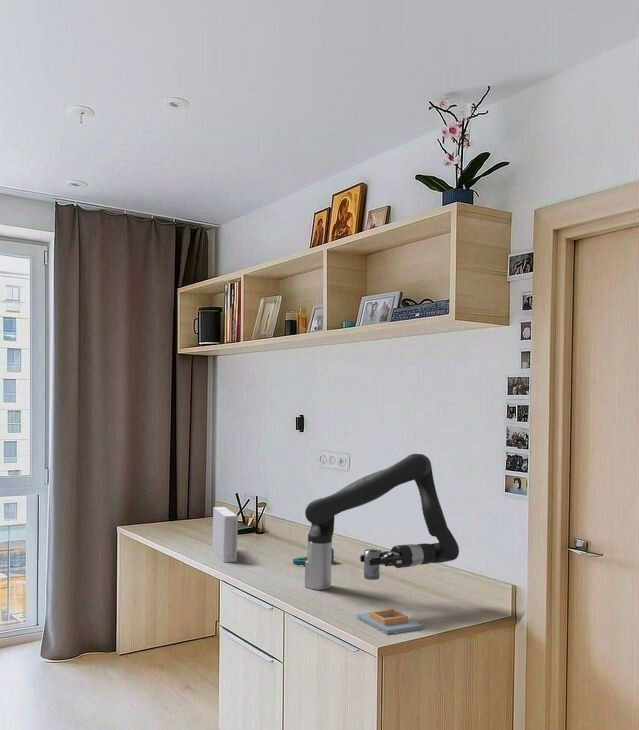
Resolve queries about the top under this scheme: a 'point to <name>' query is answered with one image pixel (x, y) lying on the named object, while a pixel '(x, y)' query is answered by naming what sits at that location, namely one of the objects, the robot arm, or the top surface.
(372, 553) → the grey capped cylinder
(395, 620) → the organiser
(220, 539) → the game console
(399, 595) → the top surface
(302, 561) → the bracket
